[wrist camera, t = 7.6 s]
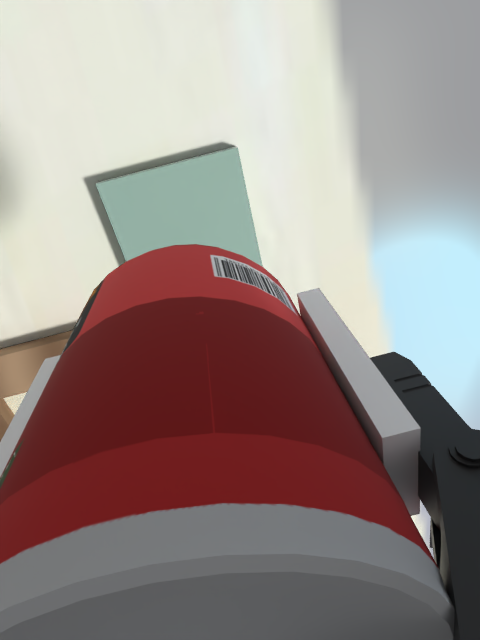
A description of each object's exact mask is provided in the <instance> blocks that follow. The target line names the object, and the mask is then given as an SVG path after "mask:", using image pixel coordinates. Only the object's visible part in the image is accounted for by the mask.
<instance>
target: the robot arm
mask: <svg viewBox="0 0 480 640" xmlns="http://www.w3.org/2000/svg"><path fill="white" fill-rule="evenodd" d="M297 297H298V303H299V308H300V314H301V318H302V320H303V322H304V323H305V325H306V327H307V329H308V330H309V332H310V334H311V336H312V338H313V339H314V341H315V343H316V345H317V347H318V348H319V350H320V352H321V354H322V356H323V357H324V359H325V361H326V363H327V365H328V366H329V368H330V370H331V372H332V374H333V375H334V377H335V379H336V381H337V383H338V384H339V386H340V388H341V390H342V392H343V393H344V395H345V397H346V399H347V400H348V402H349V404H350V406H351V408H352V409H353V411H354V413H355V415H356V417H357V418H358V420H359V422H360V424H361V426H362V427H363V429H364V431H365V433H366V435H367V436H368V438H369V440H370V442H371V444H372V445H373V447H374V449H375V451H376V453H377V454H378V456H379V458H380V460H381V462H382V463H383V465H384V467H385V469H386V470H387V472H388V474H389V476H390V478H391V479H392V481H393V483H394V485H395V487H396V488H397V490H398V492H399V494H400V496H401V497H402V499H403V501H404V503H405V505H406V507H407V510H408V512H409V514H410V516H412V515H416V514H420V500H421V501H422V503H423V505H424V506H425V508H426V510H427V511H428V513H429V515H430V516H431V526H430V548H433V554H434V560H435V562H436V564H437V566H438V568H439V570H440V573H441V576H442V579H443V582H444V585H445V588H446V592H447V594H448V596H449V598H450V599H451V601H452V603H453V606H454V609H455V612H454V637H453V640H480V430H475V429H471V428H470V427H469V426H468V425H467V424H466V423H465V422H464V421H463V419H462V418H461V417H460V416H459V415H458V414H457V412H455V410H454V409H453V408H452V407H451V406H450V405H449V403H448V402H447V401H446V400H445V399H444V398H443V397H442V395H441V394H440V393H439V392H438V391H437V390H436V389H435V387H434V386H431V383H430V382H429V381H428V380H427V378H426V377H425V376H423V375H422V373H421V372H420V370H418V368H417V367H416V366H415V365H414V364H413V362H412V361H411V360H409V359H407V358H405V357H403V356H401V355H400V354H398V353H396V352H391V353H387V354H383V355H379V356H375V357H372V358H369V356H368V355H367V354H366V352H365V351H364V349H363V348H362V347H361V345H360V344H359V343H358V341H357V340H356V338H355V337H354V336H353V334H352V333H351V332H350V330H349V329H348V327H347V326H346V325H345V323H344V322H343V321H342V319H341V318H340V316H339V315H338V314H337V312H336V311H335V310H334V308H333V307H332V305H331V304H330V303H329V301H328V300H327V299H326V297H325V296H324V294H323V293H322V292H321V290H320V289H319V288H317V289H313V290H309V291H305V292H301V293H298V294H297ZM60 356H61V355H58V356H54V357H51V358H47V359H45V360H44V362H43V364H42V365H41V367H40V369H39V371H38V373H37V375H36V377H35V378H34V380H33V382H32V384H31V386H30V388H29V390H28V391H27V393H26V395H25V397H24V399H23V401H22V403H21V404H20V406H19V408H18V410H17V412H16V414H15V416H14V417H13V419H12V421H11V423H10V425H9V427H8V429H7V430H6V432H5V434H4V436H3V438H2V440H1V442H0V477H1V475H2V473H3V471H4V469H5V467H6V465H7V463H8V461H9V459H10V457H11V455H12V452H13V450H14V448H15V446H16V444H17V442H18V440H19V438H20V436H21V434H22V432H23V430H24V428H25V426H26V424H27V422H28V420H29V418H30V416H31V414H32V412H33V410H34V408H35V406H36V404H37V402H38V400H39V398H40V396H41V394H42V392H43V390H44V388H45V386H46V384H47V382H48V380H49V378H50V376H51V374H52V372H53V370H54V368H55V366H56V364H57V362H58V360H59V358H60Z"/></svg>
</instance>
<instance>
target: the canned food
mask: <svg viewBox="0 0 480 640" xmlns="http://www.w3.org/2000/svg"><path fill="white" fill-rule="evenodd" d="M454 612H455V609H454V606H453V603H452V601H451V599H450V598H449V596H448V594H447V592H446V588H445V585H444V582H443V579H442V576H441V573H440V570H439V568H438V566H437V564H436V562H435V560H434V559H433V557H432V555H431V553H430V551H429V549H428V548H427V546H426V544H425V542H424V540H423V538H422V537H421V535H420V533H419V531H418V529H417V528H416V526H415V524H414V522H413V520H412V518H411V516H410V514H409V512H408V510H407V507H406V505H405V503H404V501H403V499H402V497H401V496H400V494H399V492H398V490H397V488H396V487H395V485H394V483H393V481H392V479H391V478H390V476H389V474H388V472H387V470H386V469H385V467H384V465H383V463H382V462H381V460H380V458H379V456H378V454H377V453H376V451H375V449H374V447H373V445H372V444H371V442H370V440H369V438H368V436H367V435H366V433H365V431H364V429H363V427H362V426H361V424H360V422H359V420H358V418H357V417H356V415H355V413H354V411H353V409H352V408H351V406H350V404H349V402H348V400H347V399H346V397H345V395H344V393H343V392H342V390H341V388H340V386H339V384H338V383H337V381H336V379H335V377H334V375H333V374H332V372H331V370H330V368H329V366H328V365H327V363H326V361H325V359H324V357H323V356H322V354H321V352H320V350H319V348H318V347H317V345H316V343H315V341H314V339H313V338H312V336H311V334H310V332H309V330H308V329H307V327H306V325H305V323H304V322H303V320H302V318H301V316H300V314H299V313H298V311H297V309H296V307H295V305H294V304H293V302H292V300H291V298H290V296H289V295H288V293H287V292H286V291H285V289H284V288H283V287H282V285H281V284H280V283H279V281H278V280H277V279H276V278H275V277H274V276H272V275H271V274H270V273H269V272H268V271H267V270H266V269H264V268H263V267H262V266H260V265H259V264H257V263H255V262H253V261H252V260H250V259H248V258H246V257H244V256H243V255H240V254H237V253H234V252H231V251H228V250H225V249H222V248H219V247H213V246H206V245H199V244H188V245H173V246H168V247H164V248H159V249H155V250H152V251H149V252H147V253H144V254H142V255H140V256H137V257H135V258H133V259H131V260H128V261H126V262H125V263H124V264H122V265H121V266H119V267H118V268H116V269H115V270H114V271H112V272H111V273H109V274H108V275H107V276H106V277H105V279H104V280H103V281H102V282H101V283H100V284H99V285H98V286H97V287H96V288H95V289H94V291H93V293H92V295H91V296H90V298H89V300H88V302H87V304H86V305H85V307H84V309H83V311H82V313H81V315H80V317H79V319H78V321H77V323H76V325H75V327H74V329H73V331H72V333H71V335H70V337H69V339H68V341H67V343H66V345H65V347H64V349H63V351H62V354H61V356H60V358H59V360H58V362H57V364H56V366H55V368H54V370H53V372H52V374H51V376H50V378H49V380H48V382H47V384H46V386H45V388H44V390H43V392H42V394H41V396H40V398H39V400H38V402H37V404H36V406H35V408H34V410H33V412H32V414H31V416H30V418H29V420H28V422H27V424H26V426H25V428H24V430H23V432H22V434H21V436H20V438H19V440H18V442H17V444H16V446H15V448H14V450H13V452H12V455H11V457H10V459H9V461H8V463H7V465H6V467H5V469H4V471H3V473H2V475H1V477H0V640H453V637H454Z"/></svg>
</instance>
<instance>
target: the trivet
mask: <svg viewBox="0 0 480 640" xmlns="http://www.w3.org/2000/svg"><path fill="white" fill-rule="evenodd" d="M96 187H97V189H98V192H99V194H100V197H101V199H102V202H103V204H104V207H105V209H106V212H107V214H108V217H109V220H110V222H111V225H112V227H113V230H114V232H115V235H116V237H117V240H118V242H119V245H120V247H121V250H122V253H123V255H124V258H125V260H126V261H128V260H131V259H133V258H135V257H137V256H140V255H142V254H144V253H147V252H149V251H152V250H155V249H159V248H164V247H168V246H173V245H188V244H199V245H206V246H213V247H219V248H222V249H225V250H228V251H231V252H234V253H237V254H240V255H243V256H244V257H246V258H248V259H250V260H252V261H253V262H255V263H257V264H259V265H260V266H262V262H261V257H260V252H259V247H258V242H257V238H256V233H255V228H254V223H253V219H252V214H251V209H250V204H249V199H248V195H247V190H246V185H245V180H244V176H243V171H242V166H241V161H240V156H239V152H238V147H237V146H235V147H231V148H227V149H223V150H219V151H215V152H212V153H208V154H204V155H200V156H196V157H192V158H188V159H185V160H181V161H177V162H173V163H169V164H165V165H161V166H158V167H154V168H150V169H146V170H142V171H138V172H135V173H131V174H127V175H123V176H119V177H115V178H111V179H108V180H104V181H100V182H97V183H96ZM262 267H263V266H262Z"/></svg>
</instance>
